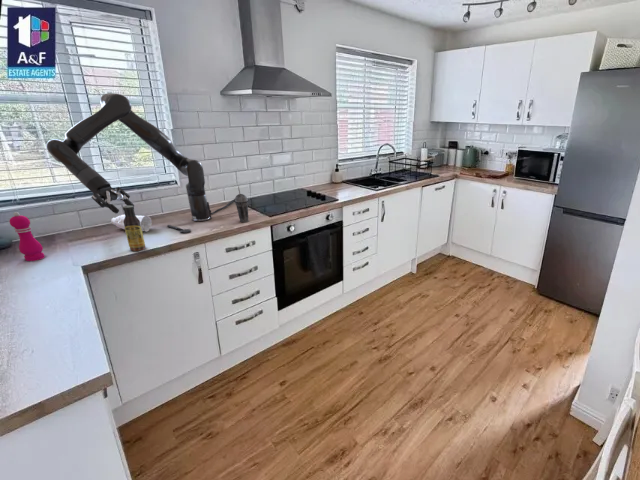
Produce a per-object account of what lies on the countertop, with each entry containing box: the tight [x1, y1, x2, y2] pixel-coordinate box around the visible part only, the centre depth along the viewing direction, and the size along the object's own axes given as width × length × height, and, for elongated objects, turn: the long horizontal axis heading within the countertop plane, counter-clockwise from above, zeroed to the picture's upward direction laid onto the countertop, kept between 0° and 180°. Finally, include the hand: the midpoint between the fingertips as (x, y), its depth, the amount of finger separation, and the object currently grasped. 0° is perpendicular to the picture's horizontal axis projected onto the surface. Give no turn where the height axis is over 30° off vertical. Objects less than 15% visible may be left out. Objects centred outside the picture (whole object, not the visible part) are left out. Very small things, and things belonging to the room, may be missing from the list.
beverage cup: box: [234, 186, 249, 223], centre depth 208 cm, size 7×7×20 cm
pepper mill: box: [9, 211, 46, 262], centre depth 151 cm, size 7×7×20 cm
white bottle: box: [110, 214, 153, 232], centre depth 191 cm, size 8×19×8 cm, turn 82°
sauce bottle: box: [122, 205, 146, 252], centre depth 165 cm, size 7×6×20 cm
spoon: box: [167, 224, 192, 235], centre depth 195 cm, size 5×18×1 cm, turn 60°
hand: (125, 209), depth 161 cm, fingers open, 8 cm apart
